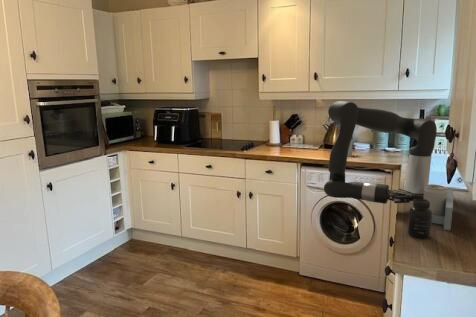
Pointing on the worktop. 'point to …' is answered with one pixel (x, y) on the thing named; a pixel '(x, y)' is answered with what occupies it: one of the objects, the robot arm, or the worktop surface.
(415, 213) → the supplement bottle
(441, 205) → the can
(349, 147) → the glass holder
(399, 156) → the worktop surface
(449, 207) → the stop bay
